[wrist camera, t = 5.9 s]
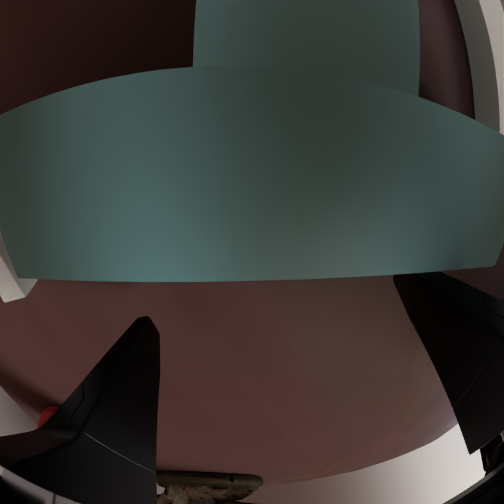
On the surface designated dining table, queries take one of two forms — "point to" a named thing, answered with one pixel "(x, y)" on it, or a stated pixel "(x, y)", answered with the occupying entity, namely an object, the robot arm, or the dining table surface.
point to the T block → (255, 159)
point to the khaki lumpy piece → (205, 487)
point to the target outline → (484, 90)
